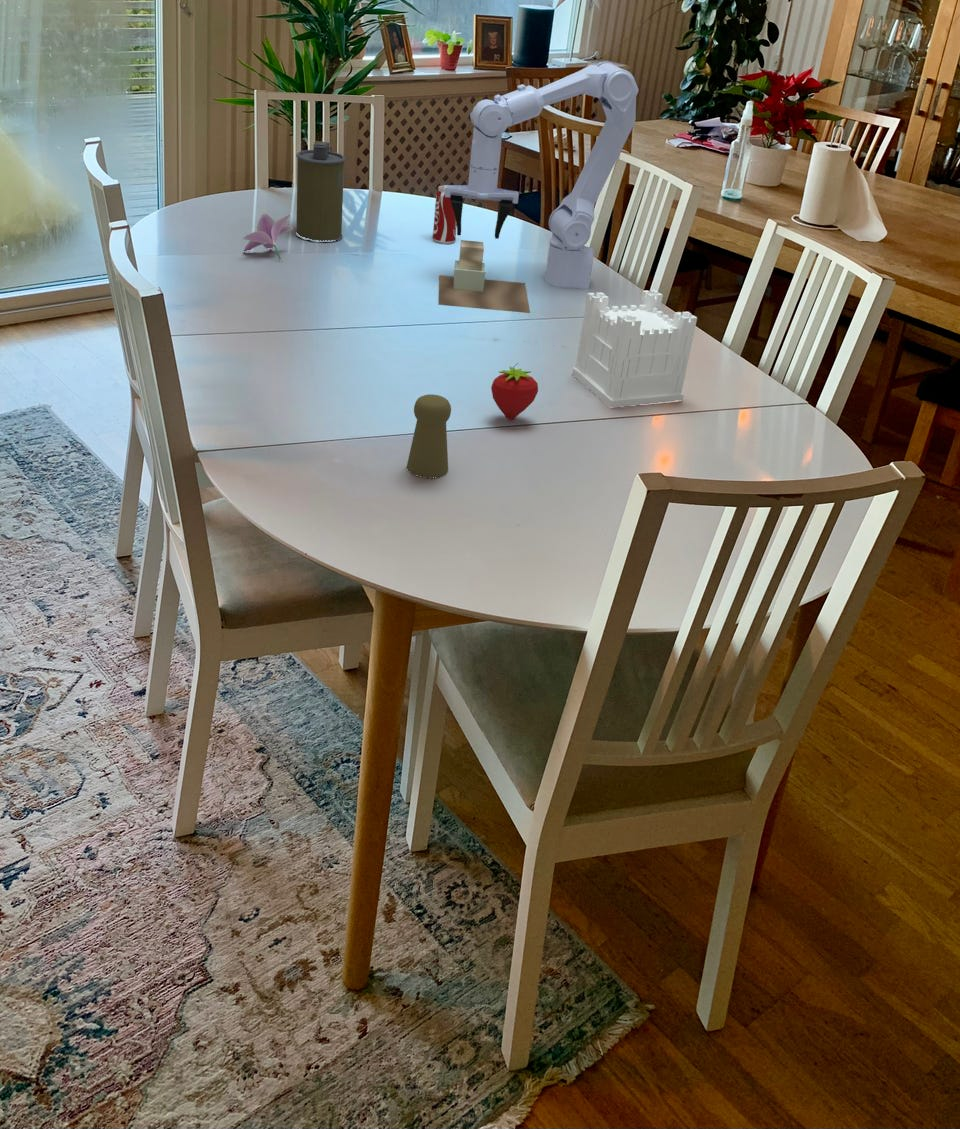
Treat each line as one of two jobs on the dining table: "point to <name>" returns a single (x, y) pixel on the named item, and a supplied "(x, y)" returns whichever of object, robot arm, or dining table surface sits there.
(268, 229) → the lily
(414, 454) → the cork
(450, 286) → the walnut board
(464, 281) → the sage base block
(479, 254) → the birch block
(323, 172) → the canister
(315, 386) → the dining table surface
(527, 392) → the strawberry
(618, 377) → the castle model
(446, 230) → the soda can
